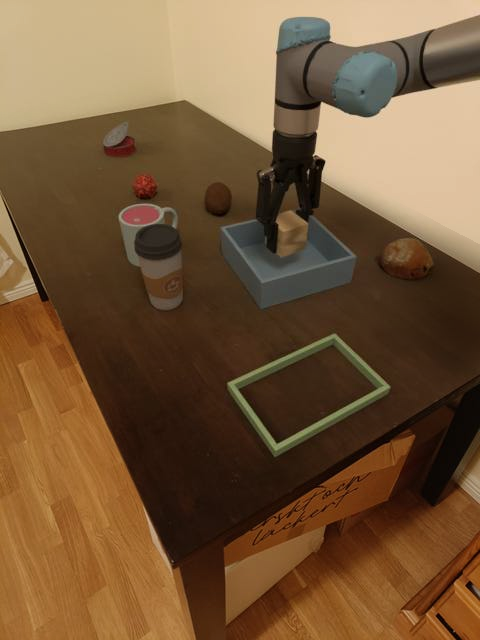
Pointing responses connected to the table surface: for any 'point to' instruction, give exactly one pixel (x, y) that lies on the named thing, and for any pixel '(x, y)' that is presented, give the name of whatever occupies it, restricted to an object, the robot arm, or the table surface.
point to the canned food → (119, 142)
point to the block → (290, 233)
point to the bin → (286, 263)
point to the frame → (322, 424)
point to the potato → (218, 198)
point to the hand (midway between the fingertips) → (284, 245)
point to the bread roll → (406, 259)
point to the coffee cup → (161, 264)
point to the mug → (141, 224)
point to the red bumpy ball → (144, 186)
